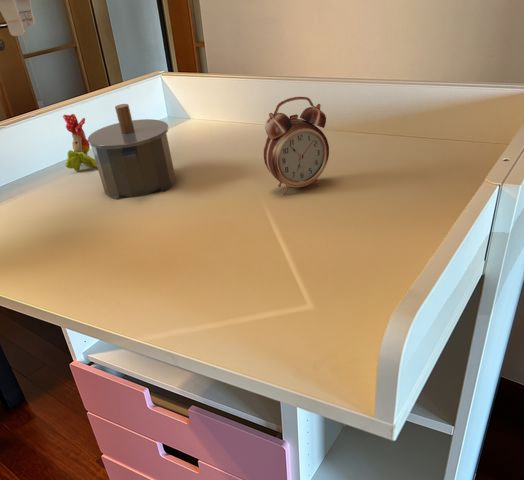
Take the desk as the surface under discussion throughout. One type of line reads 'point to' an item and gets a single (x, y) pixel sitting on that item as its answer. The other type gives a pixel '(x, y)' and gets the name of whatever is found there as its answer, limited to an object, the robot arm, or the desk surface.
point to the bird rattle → (78, 144)
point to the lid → (127, 131)
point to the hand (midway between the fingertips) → (24, 30)
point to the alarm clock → (296, 146)
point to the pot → (136, 169)
